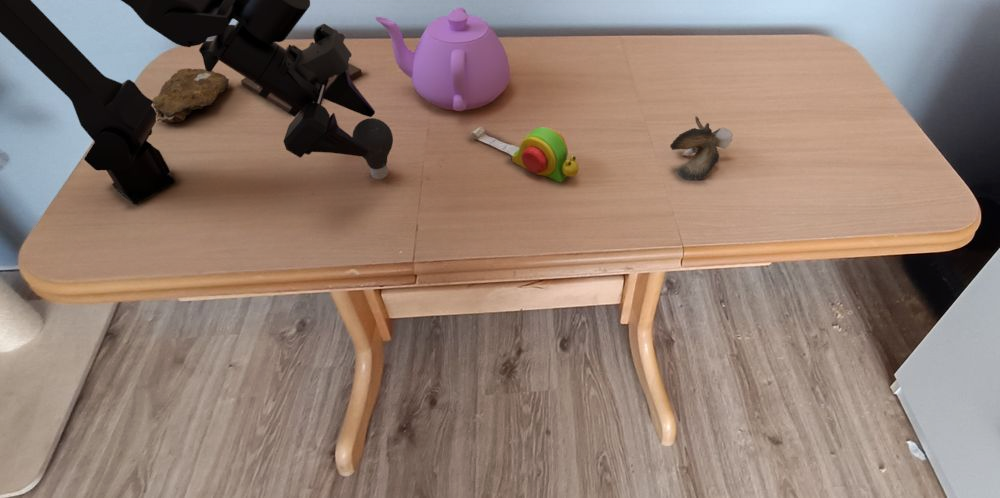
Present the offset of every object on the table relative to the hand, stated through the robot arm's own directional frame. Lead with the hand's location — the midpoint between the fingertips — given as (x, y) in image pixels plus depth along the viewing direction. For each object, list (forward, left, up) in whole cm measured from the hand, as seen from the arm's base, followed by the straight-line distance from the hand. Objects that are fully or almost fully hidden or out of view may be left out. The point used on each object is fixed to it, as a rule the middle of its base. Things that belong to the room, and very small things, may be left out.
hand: (369, 133), depth 82 cm
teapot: (+24, +8, -8) cm, 27 cm away
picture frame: (+10, +31, -8) cm, 33 cm away
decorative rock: (-6, +40, -8) cm, 41 cm away
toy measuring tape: (+17, -14, -8) cm, 24 cm away
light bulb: (0, 0, -8) cm, 8 cm away
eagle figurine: (+33, -35, -8) cm, 49 cm away
